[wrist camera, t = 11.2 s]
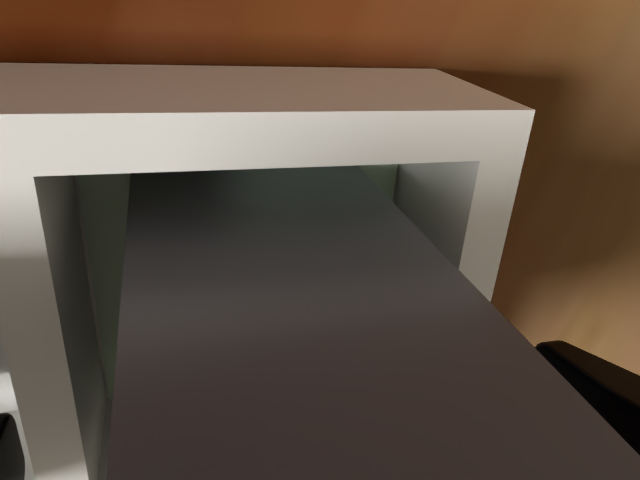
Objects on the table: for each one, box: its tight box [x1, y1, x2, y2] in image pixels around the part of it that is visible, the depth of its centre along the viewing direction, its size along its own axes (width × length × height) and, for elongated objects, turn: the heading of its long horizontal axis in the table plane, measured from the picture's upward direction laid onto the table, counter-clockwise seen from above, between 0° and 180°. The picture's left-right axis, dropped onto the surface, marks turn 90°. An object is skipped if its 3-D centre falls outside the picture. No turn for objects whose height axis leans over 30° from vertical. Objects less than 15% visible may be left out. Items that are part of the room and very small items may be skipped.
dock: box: [0, 63, 535, 480], centre depth 10 cm, size 8×15×4 cm, turn 86°
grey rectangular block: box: [106, 166, 640, 480], centre depth 8 cm, size 4×4×8 cm
